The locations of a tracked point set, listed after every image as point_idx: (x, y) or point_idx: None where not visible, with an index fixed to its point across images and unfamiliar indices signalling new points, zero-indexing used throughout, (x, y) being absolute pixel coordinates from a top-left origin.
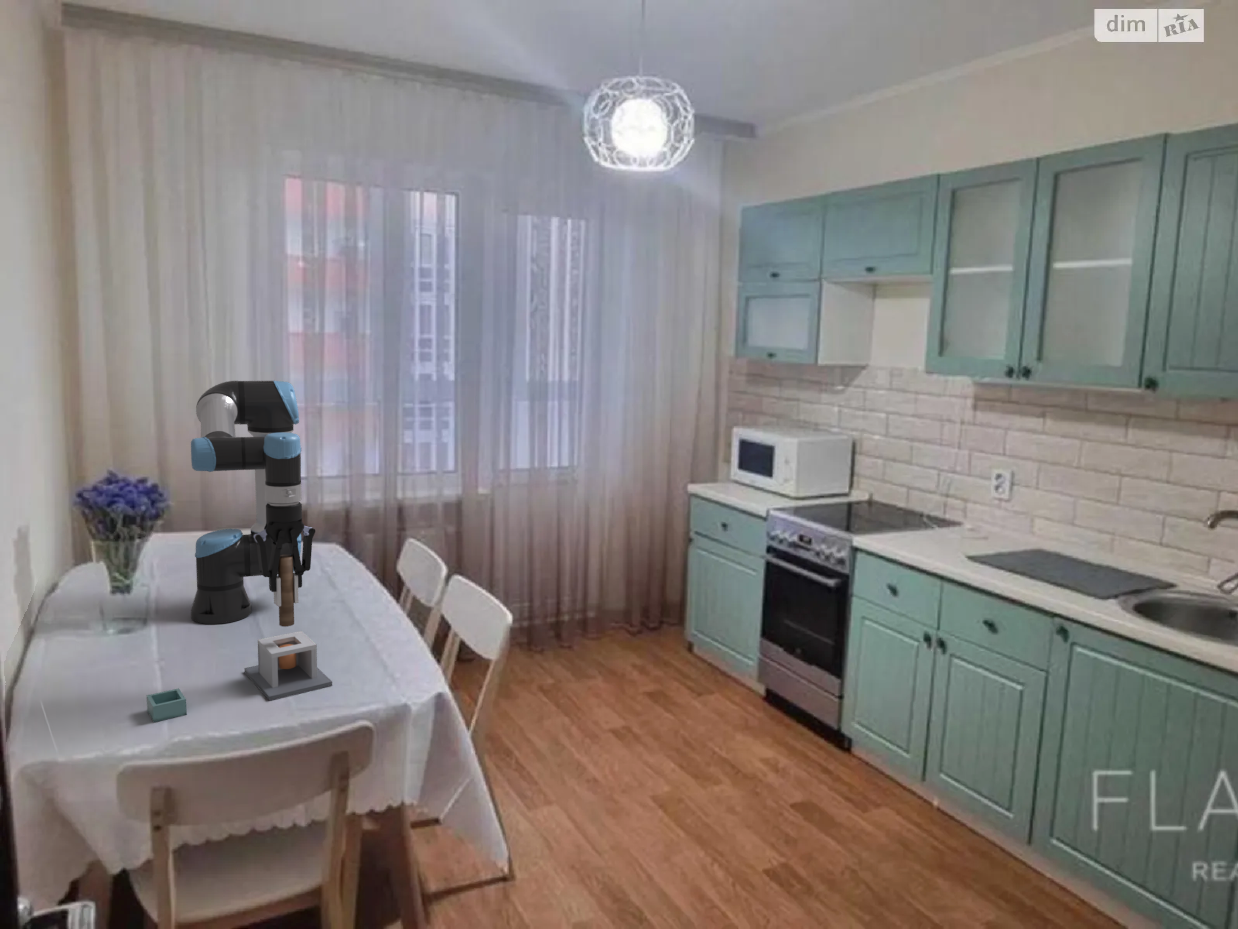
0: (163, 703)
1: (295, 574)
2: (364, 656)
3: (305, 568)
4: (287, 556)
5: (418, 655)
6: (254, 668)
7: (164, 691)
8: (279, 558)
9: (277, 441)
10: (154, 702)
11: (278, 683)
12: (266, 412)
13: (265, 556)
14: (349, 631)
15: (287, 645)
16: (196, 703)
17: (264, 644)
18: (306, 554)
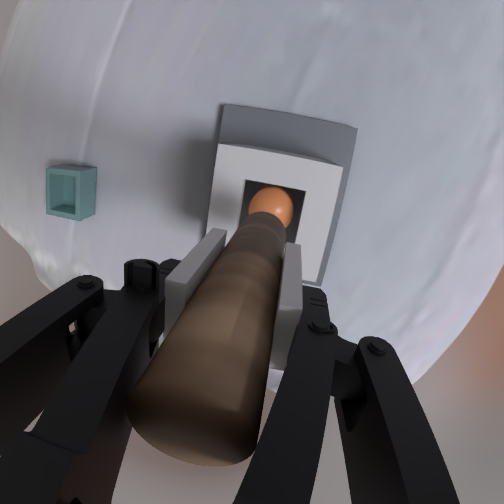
0: (56, 213)
1: (286, 348)
2: (445, 207)
3: (336, 399)
4: (206, 441)
5: (492, 275)
6: (238, 119)
7: (64, 170)
8: (128, 436)
9: None
10: (49, 201)
11: (240, 223)
12: None
13: (27, 416)
14: (489, 80)
15: (278, 199)
16: (116, 180)
17: (216, 189)
18: (352, 481)
